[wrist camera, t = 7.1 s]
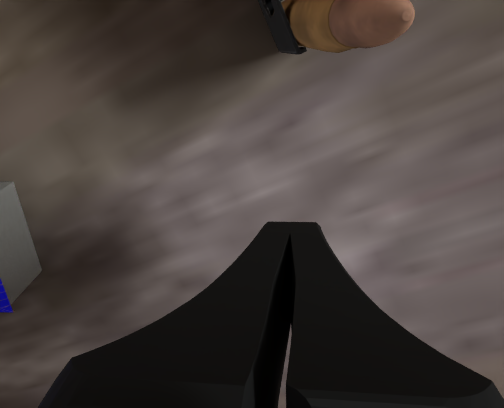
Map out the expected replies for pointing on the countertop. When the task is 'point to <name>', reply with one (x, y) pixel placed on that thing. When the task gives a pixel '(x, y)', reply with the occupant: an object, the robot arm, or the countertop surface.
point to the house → (14, 249)
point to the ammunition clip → (335, 23)
